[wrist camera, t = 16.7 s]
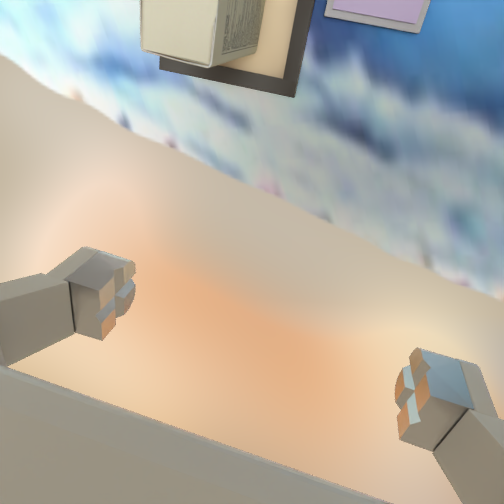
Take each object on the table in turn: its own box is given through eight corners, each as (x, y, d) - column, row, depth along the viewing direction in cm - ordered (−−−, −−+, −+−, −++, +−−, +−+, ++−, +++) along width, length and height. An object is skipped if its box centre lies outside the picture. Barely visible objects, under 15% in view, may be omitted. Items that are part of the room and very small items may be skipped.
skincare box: (216, -50, 27) (138, -103, 17) (272, -39, 27) (227, -86, 17) (206, 47, 31) (136, 52, 20) (256, 59, 30) (210, 69, 20)
